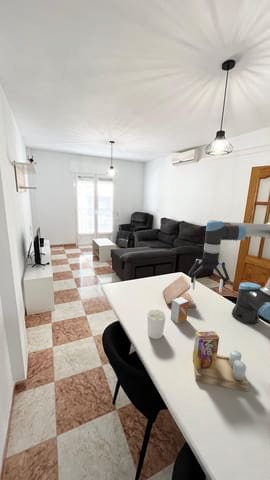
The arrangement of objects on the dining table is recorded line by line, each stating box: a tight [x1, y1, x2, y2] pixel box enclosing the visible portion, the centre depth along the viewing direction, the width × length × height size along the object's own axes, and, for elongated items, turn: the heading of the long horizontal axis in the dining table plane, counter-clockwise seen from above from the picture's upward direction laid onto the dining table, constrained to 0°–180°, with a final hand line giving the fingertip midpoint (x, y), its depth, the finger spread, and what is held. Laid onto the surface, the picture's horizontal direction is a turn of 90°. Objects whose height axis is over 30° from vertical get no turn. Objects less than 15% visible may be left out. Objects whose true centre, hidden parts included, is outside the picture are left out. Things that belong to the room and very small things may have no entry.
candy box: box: [192, 330, 220, 369], centre depth 84 cm, size 9×4×15 cm, turn 95°
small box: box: [170, 297, 189, 325], centre depth 120 cm, size 8×6×13 cm
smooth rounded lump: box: [232, 360, 247, 382], centre depth 80 cm, size 4×4×6 cm
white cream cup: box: [147, 309, 167, 340], centre depth 106 cm, size 10×10×12 cm
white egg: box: [228, 349, 242, 368], centre depth 86 cm, size 4×4×6 cm
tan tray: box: [192, 350, 250, 392], centre depth 85 cm, size 20×13×3 cm, turn 79°
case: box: [162, 275, 197, 308], centre depth 143 cm, size 20×21×16 cm
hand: (206, 290), depth 103 cm, fingers open, 13 cm apart
